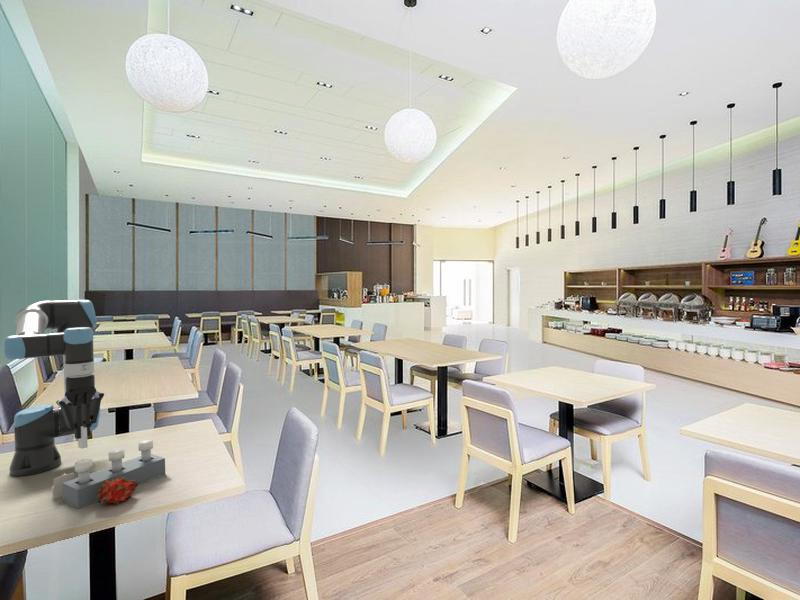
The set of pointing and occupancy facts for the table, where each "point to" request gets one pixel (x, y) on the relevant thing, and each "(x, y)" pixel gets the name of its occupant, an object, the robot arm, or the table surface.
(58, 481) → the architectural model
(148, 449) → the knob far
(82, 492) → the mount
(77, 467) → the knob near
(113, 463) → the knob mid
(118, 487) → the dragon fruit
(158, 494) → the table surface
